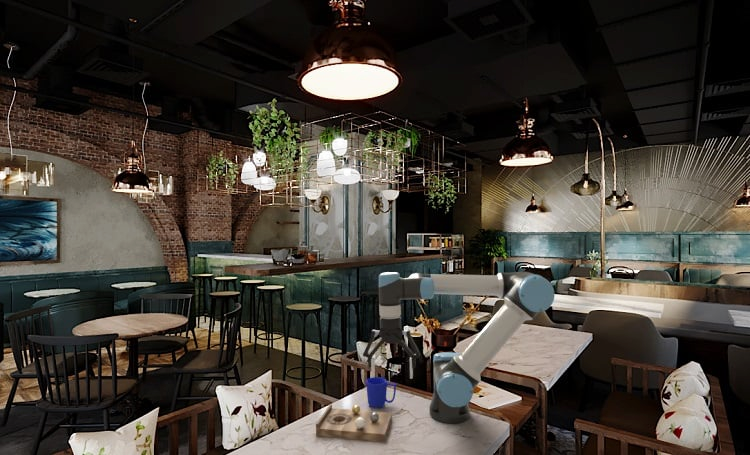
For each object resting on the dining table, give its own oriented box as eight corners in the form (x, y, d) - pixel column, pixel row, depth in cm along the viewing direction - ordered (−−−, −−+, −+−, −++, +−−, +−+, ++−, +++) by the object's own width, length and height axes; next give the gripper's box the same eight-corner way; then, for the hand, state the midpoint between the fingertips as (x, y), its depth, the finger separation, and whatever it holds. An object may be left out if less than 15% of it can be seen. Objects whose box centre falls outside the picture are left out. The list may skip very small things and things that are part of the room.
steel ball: (379, 420, 143) (379, 411, 143) (378, 424, 140) (378, 415, 140) (371, 419, 144) (370, 410, 144) (369, 423, 141) (369, 414, 141)
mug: (394, 411, 156) (394, 385, 156) (364, 409, 158) (364, 383, 158) (397, 402, 164) (397, 378, 164) (368, 400, 166) (368, 376, 166)
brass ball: (360, 412, 150) (360, 404, 150) (359, 415, 147) (359, 407, 147) (353, 411, 151) (353, 403, 151) (351, 415, 148) (351, 407, 148)
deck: (391, 419, 149) (391, 408, 149) (384, 441, 133) (384, 429, 133) (330, 414, 154) (330, 404, 154) (316, 435, 138) (315, 424, 138)
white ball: (366, 426, 139) (366, 415, 139) (364, 430, 136) (363, 420, 136) (356, 425, 140) (356, 415, 140) (354, 430, 136) (353, 419, 137)
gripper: (426, 314, 143) (428, 373, 143) (358, 314, 147) (359, 372, 147) (425, 318, 136) (427, 381, 136) (353, 318, 140) (355, 379, 140)
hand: (392, 376), depth 141 cm, fingers open, 13 cm apart
